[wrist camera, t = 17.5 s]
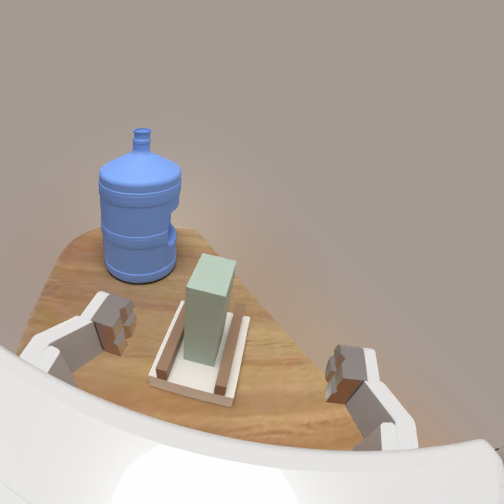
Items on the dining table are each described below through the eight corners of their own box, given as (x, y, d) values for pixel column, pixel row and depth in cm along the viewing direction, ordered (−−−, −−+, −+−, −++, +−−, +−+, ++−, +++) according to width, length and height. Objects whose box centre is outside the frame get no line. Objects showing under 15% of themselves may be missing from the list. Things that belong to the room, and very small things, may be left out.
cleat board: (247, 328, 51) (252, 306, 48) (230, 407, 38) (236, 389, 35) (181, 312, 52) (182, 289, 49) (150, 385, 38) (146, 365, 35)
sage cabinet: (224, 328, 47) (237, 257, 39) (213, 367, 40) (225, 296, 32) (197, 321, 47) (204, 249, 39) (183, 359, 40) (186, 286, 32)
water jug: (125, 296, 52) (118, 145, 36) (95, 254, 60) (88, 127, 44) (190, 269, 62) (204, 136, 47) (153, 234, 70) (159, 119, 55)
